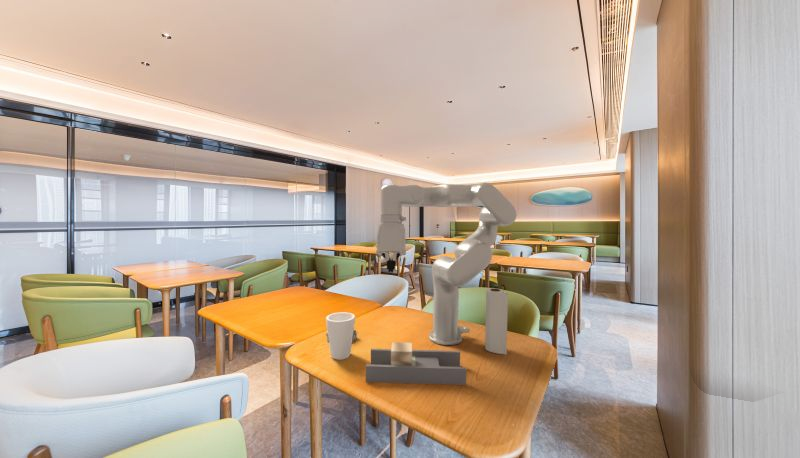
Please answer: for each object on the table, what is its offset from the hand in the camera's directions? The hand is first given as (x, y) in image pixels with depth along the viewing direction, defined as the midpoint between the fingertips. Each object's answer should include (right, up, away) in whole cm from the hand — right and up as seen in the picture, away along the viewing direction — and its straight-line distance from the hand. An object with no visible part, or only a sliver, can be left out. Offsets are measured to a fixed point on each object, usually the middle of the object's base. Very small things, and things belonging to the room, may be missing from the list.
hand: (390, 271), depth 105 cm
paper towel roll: (+36, -28, -2) cm, 46 cm away
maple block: (+4, -25, -18) cm, 31 cm away
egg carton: (-19, -27, +6) cm, 34 cm away
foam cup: (-17, -27, -6) cm, 33 cm away
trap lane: (+8, -28, -17) cm, 34 cm away
